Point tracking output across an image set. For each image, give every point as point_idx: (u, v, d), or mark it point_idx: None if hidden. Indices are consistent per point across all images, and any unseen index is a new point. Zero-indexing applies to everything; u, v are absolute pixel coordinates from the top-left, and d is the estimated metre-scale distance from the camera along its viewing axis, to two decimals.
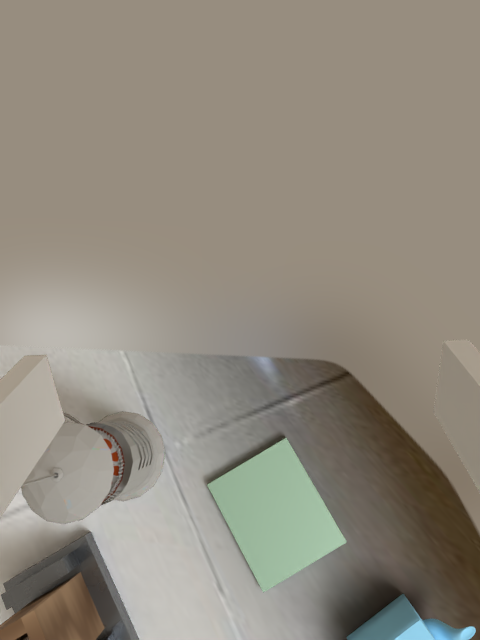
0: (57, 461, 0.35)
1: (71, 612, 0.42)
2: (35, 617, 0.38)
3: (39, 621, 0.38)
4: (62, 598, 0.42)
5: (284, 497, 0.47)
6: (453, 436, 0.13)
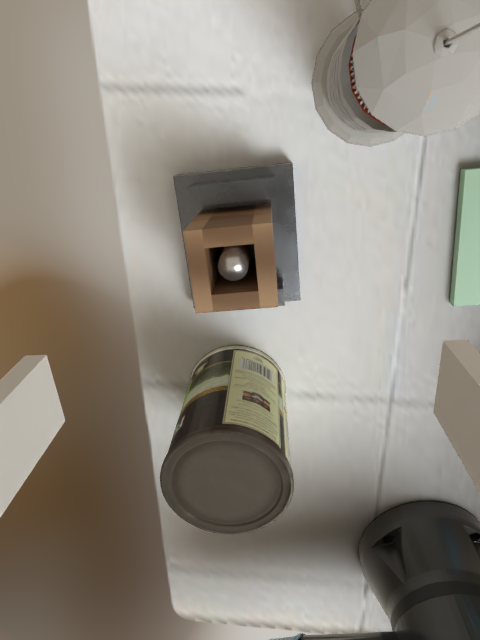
0: (455, 19, 0.20)
1: None
2: (270, 231, 0.29)
3: (272, 238, 0.30)
4: None
5: None
6: (453, 436, 0.13)
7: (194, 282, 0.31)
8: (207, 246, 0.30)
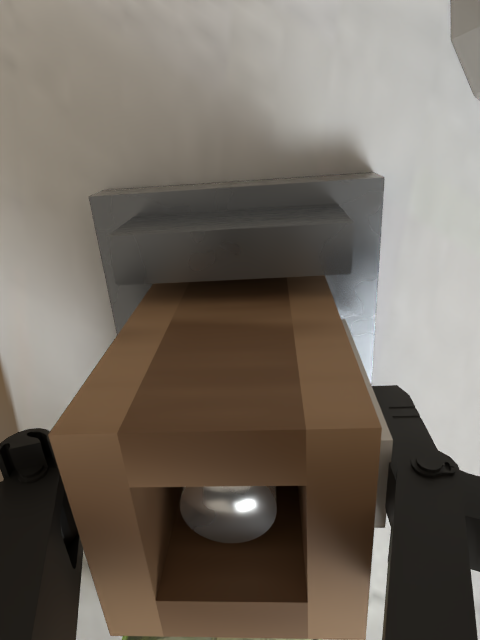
0: None
1: None
2: (371, 454, 0.08)
3: (376, 470, 0.08)
4: None
5: None
6: None
7: (101, 570, 0.10)
8: (139, 483, 0.08)
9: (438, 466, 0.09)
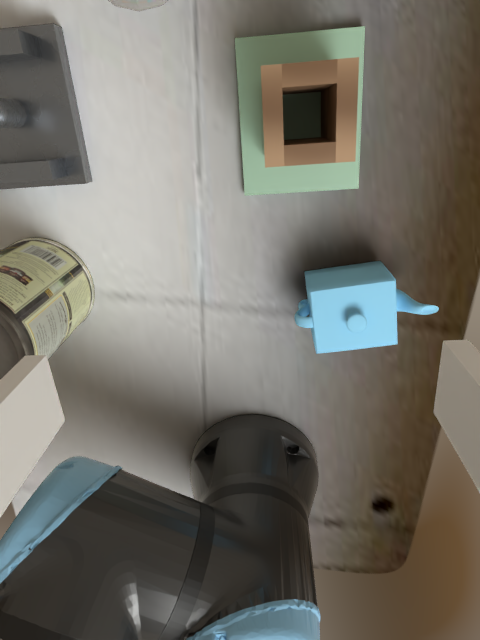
0: None
1: None
2: (356, 68, 0.27)
3: (357, 77, 0.27)
4: None
5: (320, 105, 0.36)
6: (453, 436, 0.13)
7: (267, 129, 0.29)
8: (285, 85, 0.27)
9: None
